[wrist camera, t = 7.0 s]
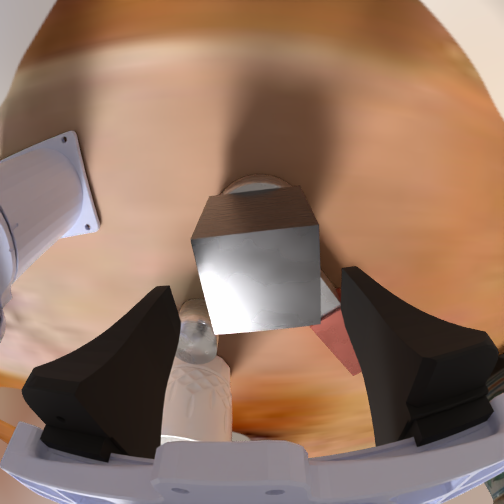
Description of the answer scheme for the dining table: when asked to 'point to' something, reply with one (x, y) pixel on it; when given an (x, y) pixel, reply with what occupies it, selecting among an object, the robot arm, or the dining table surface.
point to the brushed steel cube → (259, 260)
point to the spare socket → (196, 333)
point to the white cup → (198, 402)
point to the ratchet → (331, 314)
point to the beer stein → (497, 383)
